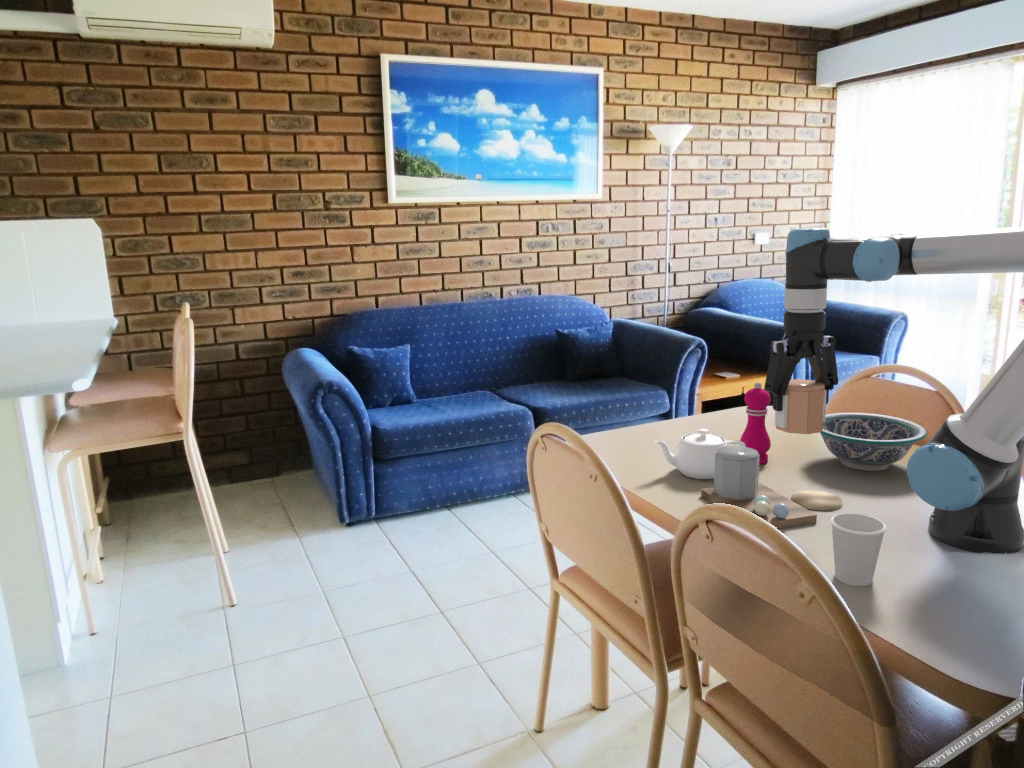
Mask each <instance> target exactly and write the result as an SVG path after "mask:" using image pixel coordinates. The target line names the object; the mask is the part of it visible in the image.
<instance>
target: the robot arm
mask: <svg viewBox="0 0 1024 768" xmlns="http://www.w3.org/2000/svg"><path fill="white" fill-rule="evenodd" d="M786 239H787V241H786V251H785V253H784V255H785V285H784V286H785V287H784V305H783V307H784V308H785V309H787V310H785V312H784V313H783V330H784V332H785V333H784V334H785V335H784V337H783V339H782V340H778V341H775V340H773V341H770V357H769V361H768V367H767V373H766V377H765V382H764V386H763V389H764V390H765V391H767V392H768V393H771V394H772V409H773V410H774V425H775V427H776V426H779V427H782V428H787V408H788V395H785V391H786V389H787V387H788V384H789V382H790V380H792V377H793V374H794V372H795V370H796V367H797V365H798V364H800V363H801V361H802V359H806V360H807V361H808V363H809V366H810V369H811V371H812V374H813V377H814V379H815V380H814V381H818V382H822V383H824V384H825V399H824V419H823V422H825V415H826V414H827V413H826V410H827V409H826V408H827V405H828V404H829V395H830V391H832V390H834V388H835V386H837V385H838V384H839V376H838V375H839V374H838V373H839V372H838V368H837V367H838V366H837V359H836V357H837V356H836V350H835V348H836V343H837V338H836V337H835V336H831V335H823V331H824V330H825V328H826V319H827V318H826V317H827V316H826V314H827V313H826V312H825V311H824V309H826V308H827V298H828V294H827V293H828V292H827V291H828V280H829V281H830V280H831V281H833V280H838V281H839V280H841V281H843V280H844V281H858V282H859V281H861V282H862V281H863V282H865V283H866V282H868V283H871V282H883V281H888V280H890V279H892V277H893V276H915V275H954V274H959V275H960V274H996V273H997V274H999V273H1000V274H1002V273H1003V274H1006V273H1009V274H1010V273H1024V226H1018V227H1017V226H1016V227H1002V228H998V227H997V228H988V229H986V228H985V229H970V230H958V231H957V230H954V231H943V232H941V231H940V232H939V231H938V232H928V233H927V232H926V233H910V234H909V233H908V234H904V233H897V234H891V235H885V236H870V237H869V236H868V237H860V238H857V237H856V238H855V237H854V238H832V237H831V234H830V229H828V228H827V227H822V228H821V227H820V228H819V227H816V228H815V227H813V228H811V227H810V228H808V227H807V228H796V229H795V228H794V229H792V230H790V231H789V232H788V234H787V238H786ZM907 461H908V462H907V465H906V476H907V478H908V483H909V485H910V488H911V489H912V490H913V492H914V493H915V494H916V495H917V496H918V498H920V499H921V500H922V501H923V502H925V503H926V504H927V505H929V506H931V507H933V508H934V509H933V511H932V512H931V514H930V516H929V519H928V531H929V533H930V535H932V536H933V537H934V538H936V539H937V540H939V541H941V542H943V543H945V544H947V545H950V546H953V547H956V548H959V549H962V550H965V551H972V552H977V553H984V554H993V555H998V554H999V555H1000V554H1002V555H1004V554H1012V553H1015V552H1018V551H1020V550H1022V549H1023V548H1024V527H1023V524H1022V518H1021V514H1020V510H1019V504H1018V502H1019V493H1020V486H1021V480H1022V473H1023V472H1022V471H1023V464H1024V338H1023V339H1022V340H1021V341H1020V343H1019V344H1018V345H1017V346H1016V347H1015V349H1014V350H1013V351H1012V353H1011V354H1010V355H1009V357H1008V358H1006V360H1005V362H1003V364H1002V365H1001V366H1000V368H999V369H998V370H997V372H996V373H995V374H994V375H993V376H992V378H991V379H990V380H989V381H988V383H987V384H986V386H985V387H984V388H983V389H982V390H981V391H980V393H979V394H978V395H977V396H976V398H975V399H974V400H973V401H972V403H971V404H970V405H969V407H968V408H967V409H966V411H965V412H963V413H962V412H961V413H960V412H959V413H956V414H950V415H949V416H948V417H947V418H946V419H945V421H944V422H943V423H942V424H941V426H940V427H939V428H938V430H937V431H936V432H935V433H934V435H933V436H932V437H931V439H929V440H928V442H927V443H925V444H923V445H921V446H919V447H917V448H916V449H915V450H914V451H913V453H911V455H910V457H909V459H908V460H907Z"/></svg>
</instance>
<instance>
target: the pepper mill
mask: <svg viewBox="0 0 1024 768" xmlns="http://www.w3.org/2000/svg"><path fill="white" fill-rule="evenodd" d="M762 386H763V385H762V382H759V381H757V382H754V385H753V387H754V388H750V389H748V390H747V391H746V393H745V394H744V403H745V404H746V406H747V407H745V409H746V411H745V413H746V414H747V424H746V427H745V429H744V430H743V433H742V434H741V437H740V440H739V441H742V442H744V443H745V445H746V447H748V448H752V449H754V450H756V451H758V454H759V455H760V457H759V466H761V465H766V464H767V463H768V462H769V454H768V453H767V452H768V451H770V449H771V447H772V445H771V444H772V443H771V438H770V435H769V433H768V431H767V427H766V416H767V415H768V413H769V412H768V408H767V407H768V406H769V405H770V403H771V401H772V400H771V394H770V392H768V391H765V390H764V388H762ZM739 446H741V445H740V444H739Z"/></svg>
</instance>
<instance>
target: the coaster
mask: <svg viewBox="0 0 1024 768" xmlns="http://www.w3.org/2000/svg"><path fill="white" fill-rule="evenodd" d="M790 500H792V501H793V502H795V503H797V504H799V505H800V506H802V507H804V508H806V509H807V510H810V511H811V510H813V511H822V512H823V511H825V512H827V511H829V512H830V511H835V510H839V509H840V508H842V507H843V500H842V498H841V497H839V496H837V494H833V493H830V492H827V491H822V490H816V489H815V490H813V489H804V490H803V489H802V490H798V491H795V492H793V493H792V494H791V497H790Z"/></svg>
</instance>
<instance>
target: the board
mask: <svg viewBox="0 0 1024 768" xmlns="http://www.w3.org/2000/svg"><path fill="white" fill-rule="evenodd" d="M759 495H765V496H767V497H768V498H769V500H770V513H769V514H768V515H766V516H759V515H758V514H757V513H756V512H755V509H754V507H755V504H754V500H755V498H756V497H757V496H759ZM700 496H701V497H702V498H703V499H705V500H707V502H709V503H710V504H712V503H725V504H731V505H735V506H738V507H741V508H744V509H747V510H749V511H750V512H752V513H754V514H756V515H757V516H759V517H761V518H763V519H764V520H766V521H767V522H769V523H771V524H772V525H774V526H775V527H777V528H778V529H783V528H789V527H796V526H802V525H808V524H814V523H817V517H818V515H817V514H816V513H814V512H813V511H811V510H810V509H806V508H804V507H802V506H800V505H799V504H797V503H795V502H793V501H792V500H791V498H788V497H786V496H785V495H782V494H781V493H779V492H777V491H775V490H774V489H772V488H770V487H768V486H767V485H765V484H763V483H762V482H760V481H758V493H757V494H756V496H755V498H750V499H743V500H737V499H730V498H724V497H721V496H720V495H718V494H717V493H715V492H714V486H713V487H705V488H701V489H700ZM778 503H783V504H785V505H787V506H788V508H789V514H788V516H787V517H786V518H782V519H781V518H777V517H776V516H775V515H774V513H773V507H774V506H775V505H776V504H778Z"/></svg>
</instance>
